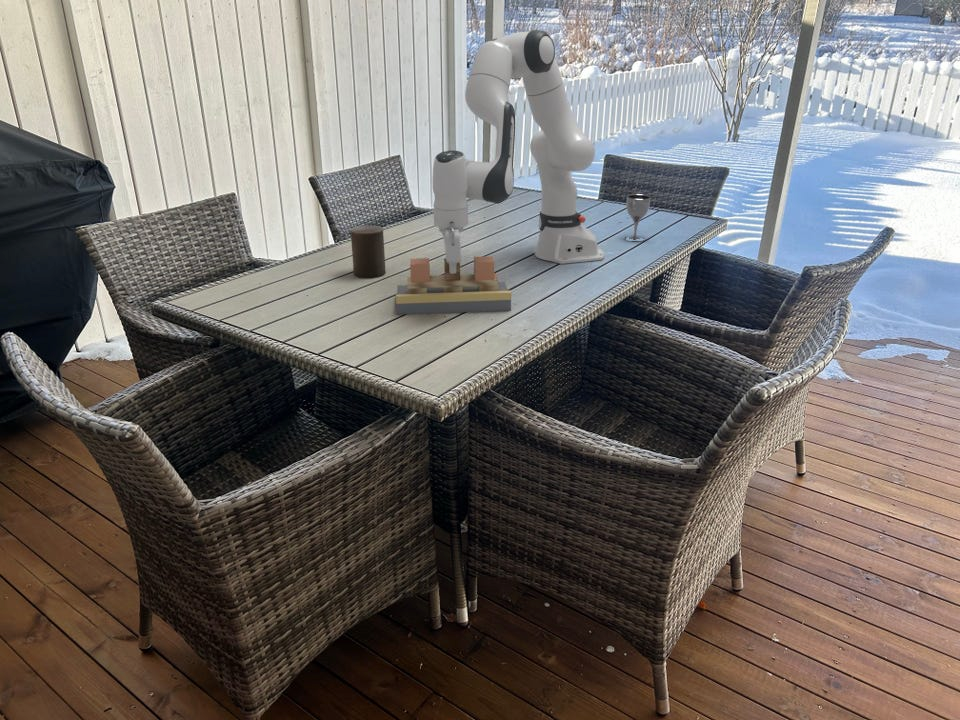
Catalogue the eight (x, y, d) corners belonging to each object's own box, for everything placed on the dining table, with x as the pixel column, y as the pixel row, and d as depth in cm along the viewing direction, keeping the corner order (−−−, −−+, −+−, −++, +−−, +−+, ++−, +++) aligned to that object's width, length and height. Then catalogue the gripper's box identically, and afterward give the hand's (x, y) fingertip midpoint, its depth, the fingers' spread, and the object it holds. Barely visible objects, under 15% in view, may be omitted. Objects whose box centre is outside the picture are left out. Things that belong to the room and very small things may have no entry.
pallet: (495, 287, 186) (496, 255, 182) (498, 294, 181) (498, 262, 177) (408, 290, 184) (406, 258, 180) (408, 297, 179) (406, 264, 175)
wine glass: (621, 241, 236) (625, 198, 230) (625, 235, 243) (629, 193, 236) (644, 243, 234) (648, 200, 227) (647, 237, 240) (652, 195, 234)
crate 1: (429, 275, 182) (429, 258, 180) (430, 282, 178) (429, 263, 176) (411, 276, 182) (410, 258, 180) (411, 282, 178) (410, 264, 175)
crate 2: (492, 273, 184) (492, 256, 181) (494, 280, 179) (494, 261, 177) (474, 274, 183) (473, 256, 181) (475, 280, 179) (475, 262, 177)
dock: (504, 292, 191) (504, 275, 189) (510, 310, 179) (511, 292, 176) (398, 295, 189) (397, 278, 187) (396, 314, 176) (395, 296, 174)
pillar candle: (371, 280, 200) (368, 230, 194) (347, 274, 205) (343, 225, 199) (392, 271, 208) (389, 223, 201) (368, 266, 212) (364, 219, 206)
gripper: (465, 227, 164) (466, 281, 170) (460, 207, 183) (461, 257, 189) (440, 228, 164) (441, 282, 170) (437, 208, 182) (439, 257, 188)
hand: (452, 269), depth 179 cm, fingers open, 5 cm apart
